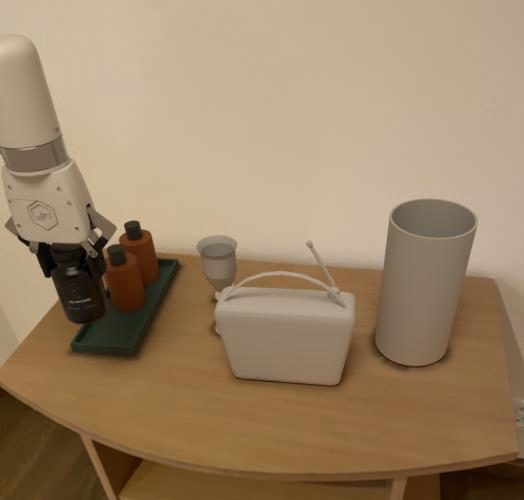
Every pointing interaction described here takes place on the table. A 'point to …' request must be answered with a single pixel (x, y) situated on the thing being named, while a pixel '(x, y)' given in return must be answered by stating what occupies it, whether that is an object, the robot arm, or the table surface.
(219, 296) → the lidless jar
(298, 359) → the radio
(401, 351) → the cylinder vase
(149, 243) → the amber bottle far
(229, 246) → the chalice
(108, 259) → the amber bottle middle
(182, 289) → the table surface
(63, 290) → the supplement bottle
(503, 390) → the table surface
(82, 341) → the tray
